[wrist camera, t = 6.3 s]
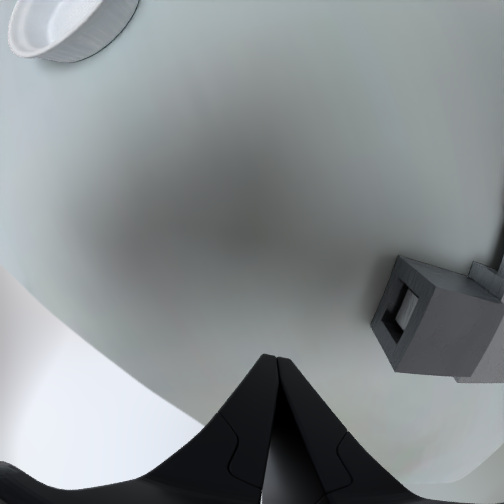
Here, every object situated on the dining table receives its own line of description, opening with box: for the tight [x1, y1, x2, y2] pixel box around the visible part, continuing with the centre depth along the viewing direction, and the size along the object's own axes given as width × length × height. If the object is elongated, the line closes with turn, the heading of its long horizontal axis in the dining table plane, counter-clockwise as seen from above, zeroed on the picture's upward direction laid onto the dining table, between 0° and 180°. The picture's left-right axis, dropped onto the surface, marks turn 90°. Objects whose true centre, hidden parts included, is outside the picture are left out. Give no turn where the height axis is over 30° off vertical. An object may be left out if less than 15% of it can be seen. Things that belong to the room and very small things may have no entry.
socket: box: [371, 256, 504, 377], centre depth 15 cm, size 6×5×5 cm
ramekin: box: [8, 0, 139, 63], centre depth 11 cm, size 9×9×4 cm
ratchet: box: [395, 256, 504, 383], centre depth 14 cm, size 12×16×4 cm
